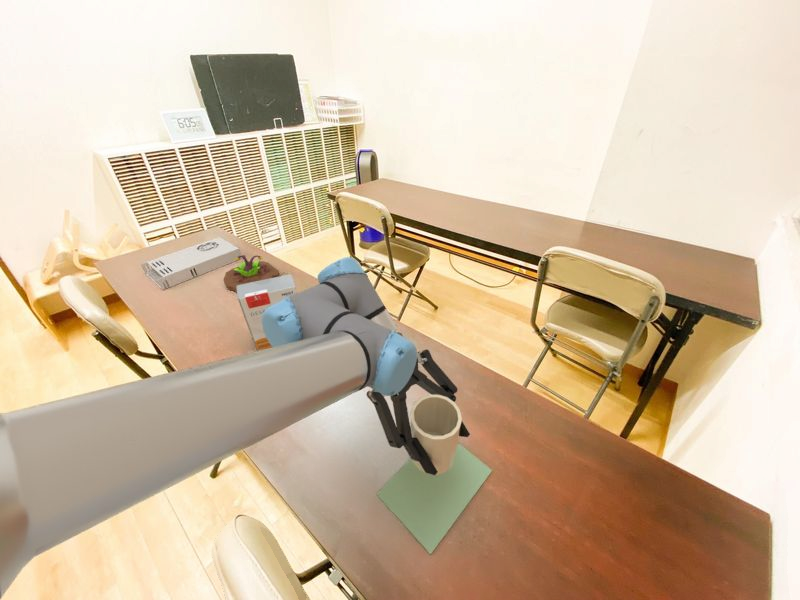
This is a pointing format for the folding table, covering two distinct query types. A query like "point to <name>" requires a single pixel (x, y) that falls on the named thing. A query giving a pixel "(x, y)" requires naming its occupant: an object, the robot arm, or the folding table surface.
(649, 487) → the folding table surface
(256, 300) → the hard drive box
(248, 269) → the plant
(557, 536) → the folding table surface
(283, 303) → the robot arm
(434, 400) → the cup
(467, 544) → the folding table surface
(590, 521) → the folding table surface
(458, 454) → the place mat
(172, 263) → the power supply unit
